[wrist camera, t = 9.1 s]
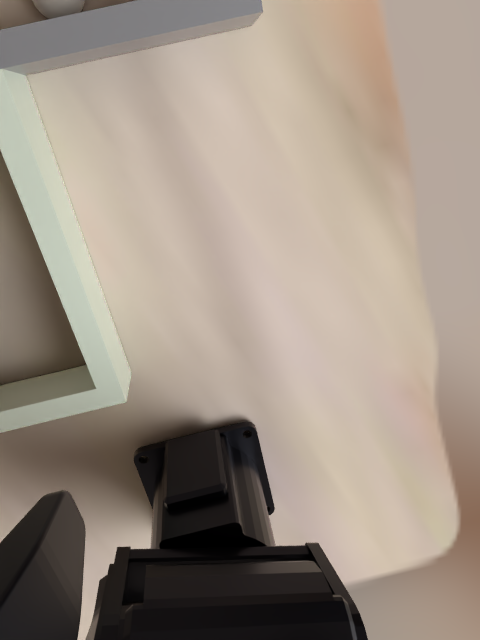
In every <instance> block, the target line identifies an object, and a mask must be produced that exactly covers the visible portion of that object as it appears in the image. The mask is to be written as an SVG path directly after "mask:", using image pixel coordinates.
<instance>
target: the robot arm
mask: <svg viewBox="0 0 480 640" xmlns="http://www.w3.org/2000/svg"><path fill="white" fill-rule="evenodd" d="M246 430H250V432H249V433H243V432H244V431H246ZM141 456H147V458H141ZM134 463H135V465H136V468H137V470H138V473H139V475H140V478H141V480H142V483H143V486H144V488H145V491H146V493H147V496H148V498H149V501H150V503H151V506H152V509H153V520H152V535H151V549H131V547H117V552H116V557H115V562H114V564H110V565H109V570H108V575H106V576H105V577H103V578H102V579H101V580H100V581H99V587H98V593H97V599H96V605H95V610H94V615H93V619H92V623H91V626H90V629H89V632H88V634H87V637H86V640H368V638H367V635H366V631H365V627H364V624H363V621H362V619H361V616H360V613H359V611H358V609H357V607H356V605H355V603H354V602H353V600H352V598H351V597H350V595H349V594H348V592H347V590H346V588H345V587H344V585H343V583H342V582H341V580H340V578H339V577H338V575H337V573H336V572H335V570H334V568H333V567H332V565H331V563H330V562H329V560H328V558H327V557H326V555H325V553H324V552H323V550H322V548H321V547H320V545H319V543H306V544H305V545H301V546H275V541H274V537H273V533H272V528H271V524H270V520H269V515H271V514H272V513H273V512H274V508H275V507H274V503H273V499H272V495H271V490H270V486H269V482H268V478H267V473H266V469H265V465H264V460H263V456H262V452H261V448H260V443H259V439H258V435H257V431H256V427H255V425H254V424H253V423H252V422H242V423H238V424H234V425H230V426H226V427H222V428H218V429H212V430H208V431H204V432H200V433H196V434H192V435H188V436H184V437H180V438H176V439H172V440H169V441H165V442H161V443H157V444H152V445H148V446H144V447H141V448H138V449H137V450H136V452H135V455H134ZM267 506H268V507H267ZM84 551H85V524H84V521H83V518H82V516H81V514H80V512H79V510H78V508H77V506H76V504H75V502H74V500H73V498H72V496H71V494H70V493H69V492H68V491H65V490H62V491H58V492H54V493H50V494H47V495H45V496H43V497H42V498H41V499H40V500H39V501H38V502H37V503H36V504H35V506H34V507H33V508H32V509H31V510H30V511H29V512H28V513H27V514H26V515H25V516H24V518H23V519H22V520H21V521H20V522H19V523H18V524H17V525H16V526H15V527H14V528H13V530H12V531H11V532H10V533H9V534H8V535H7V536H6V537H5V538H4V539H3V540H2V542H1V543H0V640H77V638H78V631H79V624H80V616H81V604H82V586H83V568H84Z"/></svg>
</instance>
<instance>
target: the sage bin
mask: <svg viewBox="0 0 480 640" xmlns="http://www.w3.org/2000/svg"><path fill="white" fill-rule="evenodd" d="M0 150H1V153H2V155H3V158H4V160H5V163H6V165H7V168H8V170H9V173H10V175H11V178H12V180H13V183H14V185H15V188H16V190H17V193H18V195H19V198H20V200H21V203H22V205H23V208H24V210H25V213H26V215H27V218H28V220H29V223H30V225H31V227H32V230H33V232H34V235H35V237H36V240H37V242H38V245H39V247H40V250H41V252H42V255H43V257H44V260H45V262H46V265H47V267H48V270H49V272H50V275H51V277H52V280H53V282H54V285H55V287H56V290H57V292H58V295H59V297H60V300H61V302H62V305H63V307H64V310H65V312H66V315H67V317H68V320H69V322H70V325H71V327H72V330H73V332H74V335H75V337H76V340H77V342H78V345H79V347H80V350H81V352H82V355H83V357H84V360H85V362H86V365H84V366H80V367H76V368H72V369H67V370H63V371H59V372H55V373H51V374H46V375H42V376H38V377H34V378H30V379H26V380H21V381H17V382H13V383H9V384H5V385H0V433H2V432H6V431H10V430H14V429H18V428H23V427H27V426H31V425H35V424H39V423H43V422H47V421H52V420H56V419H60V418H64V417H68V416H72V415H76V414H80V413H85V412H89V411H93V410H97V409H101V408H105V407H109V406H113V405H118V404H122V403H126V402H127V396H128V391H129V385H130V380H131V374H132V373H131V370H130V367H129V364H128V361H127V359H126V356H125V353H124V350H123V347H122V345H121V342H120V339H119V336H118V333H117V331H116V328H115V325H114V322H113V319H112V316H111V314H110V311H109V308H108V305H107V302H106V300H105V297H104V294H103V291H102V288H101V286H100V283H99V280H98V277H97V274H96V271H95V269H94V266H93V263H92V260H91V257H90V255H89V252H88V249H87V246H86V243H85V241H84V238H83V235H82V232H81V229H80V226H79V224H78V221H77V218H76V215H75V212H74V210H73V207H72V204H71V201H70V198H69V196H68V193H67V190H66V187H65V184H64V181H63V179H62V176H61V173H60V170H59V167H58V165H57V162H56V159H55V156H54V153H53V151H52V148H51V145H50V142H49V139H48V137H47V134H46V131H45V128H44V125H43V122H42V120H41V117H40V114H39V111H38V108H37V106H36V103H35V100H34V97H33V94H32V92H31V89H30V86H29V83H28V80H27V77H26V75H23V74H19V73H15V72H12V71H8V70H5V69H0Z"/></svg>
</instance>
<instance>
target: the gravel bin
mask: <svg viewBox="0 0 480 640" xmlns="http://www.w3.org/2000/svg"><path fill="white" fill-rule="evenodd" d="M32 1H33V3H34V5H35V7H36V8H37V9H38V11H39V12H40V13H41V14H42V15H44V16H45V17H46V18H48V20H43V21H39V22H34V23H29V24H25V25H20V26H15V27H11V28H6V29H1V30H0V69H5V70H8V71H12V72H15V73H19V74H23V75H30V74H35V73H39V72H44V71H48V70H53V69H57V68H62V67H66V66H71V65H76V64H80V63H85V62H89V61H94V60H98V59H103V58H108V57H112V56H117V55H121V54H126V53H130V52H135V51H139V50H144V49H149V48H153V47H158V46H162V45H167V44H171V43H176V42H181V41H185V40H190V39H194V38H199V37H203V36H208V35H212V34H217V33H222V32H226V31H231V30H235V29H240V28H244V27H249V26H252V25H253V24H254V22H255V21H256V20H257V19H258V17H259V16H260V15H261V14H262V12H263V8H262V1H261V0H136V1H131V2H127V3H122V4H117V5H113V6H108V7H103V8H99V9H94V10H90V11H85V12H81V11H82V8H83V5H84V0H32Z"/></svg>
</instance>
